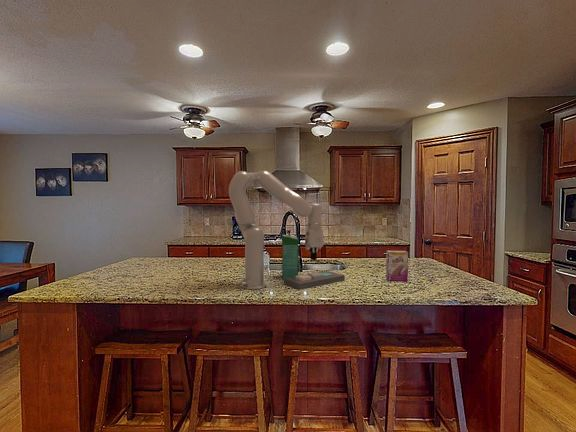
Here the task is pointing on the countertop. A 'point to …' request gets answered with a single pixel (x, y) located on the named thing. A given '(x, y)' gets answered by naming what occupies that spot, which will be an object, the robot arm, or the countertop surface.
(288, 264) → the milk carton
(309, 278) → the cream key
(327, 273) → the teal key
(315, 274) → the slate key
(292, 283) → the keypad
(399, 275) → the candy bar box
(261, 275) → the robot arm
